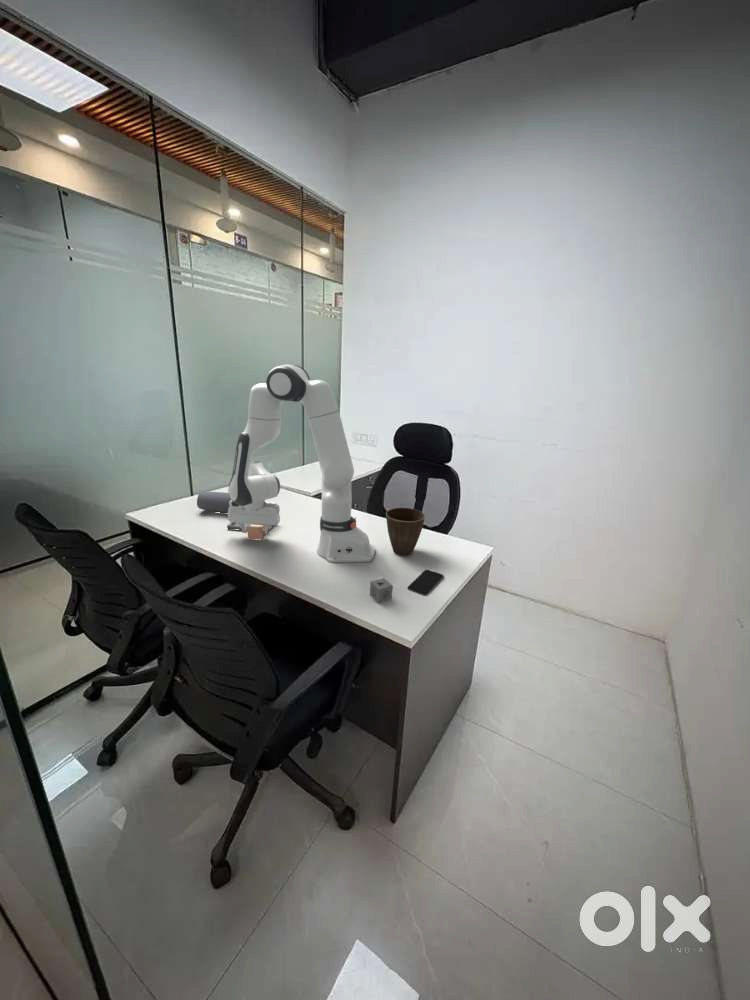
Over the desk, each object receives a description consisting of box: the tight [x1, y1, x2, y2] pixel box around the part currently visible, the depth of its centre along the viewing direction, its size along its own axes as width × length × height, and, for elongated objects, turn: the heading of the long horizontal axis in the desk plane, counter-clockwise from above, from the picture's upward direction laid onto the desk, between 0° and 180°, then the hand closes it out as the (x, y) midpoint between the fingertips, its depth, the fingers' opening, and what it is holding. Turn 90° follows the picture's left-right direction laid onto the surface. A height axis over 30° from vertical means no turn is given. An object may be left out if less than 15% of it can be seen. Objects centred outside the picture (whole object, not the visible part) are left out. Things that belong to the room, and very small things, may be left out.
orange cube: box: [247, 524, 264, 540], centre depth 149 cm, size 5×4×5 cm
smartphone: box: [407, 569, 445, 597], centre depth 123 cm, size 7×1×15 cm
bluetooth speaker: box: [196, 491, 231, 513], centre depth 172 cm, size 23×9×10 cm, turn 84°
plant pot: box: [385, 507, 426, 557], centre depth 142 cm, size 15×15×16 cm
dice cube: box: [369, 577, 394, 604], centre depth 113 cm, size 5×5×5 cm
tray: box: [226, 522, 251, 530], centre depth 159 cm, size 9×9×2 cm
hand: (255, 533), depth 148 cm, fingers open, 7 cm apart
